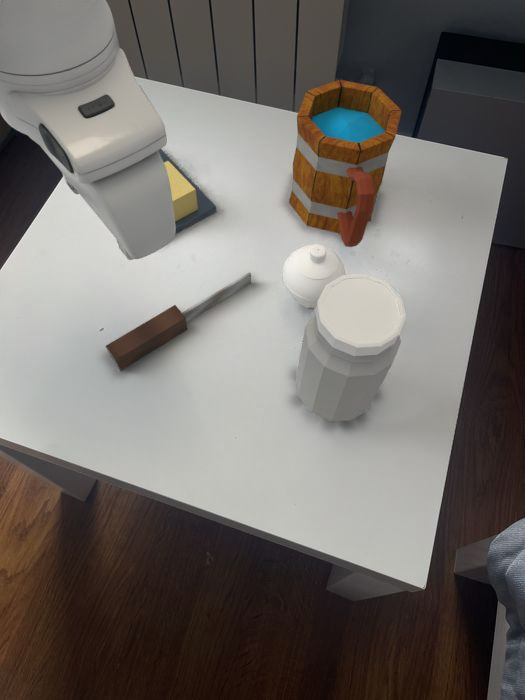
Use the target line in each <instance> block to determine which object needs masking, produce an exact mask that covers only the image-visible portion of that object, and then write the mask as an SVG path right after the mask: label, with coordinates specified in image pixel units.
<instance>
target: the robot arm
mask: <svg viewBox="0 0 525 700" xmlns="http://www.w3.org/2000/svg"><path fill="white" fill-rule="evenodd" d="M119 43H120V42H119V38H118V34H117V29H116V24H115V20H114V15H113V13H112V11H111V7H110V5H109V3H108V2H107V0H0V115H1V117H2V118H3V120H4V121H5V122H6V123H7V125H9V126H10V127H11V128H13V129H14V130H16V132H17V131H18V132H19V133H21V134H23V135H26V136H28V137H29V138H30V139H31V141H33V142H34V143H36V144H37V145H39V146H40V148H41V149H42V150H43V151H44V153H45V154H46V155H47V156H48V158H49V159H50V160H51V161H52V162H53V163H54V165H55V166H56V167H57V168H58V169H59V172H61V174H62V176H63V178H64V181H65V184H66V185H67V186H68V187H69V189H70V190H71V191H72V193H74V194H75V195H80V197H81V198H82V199H83V200H84V202H85V203H86V205H88V206H89V207H90V209H91V210H92V211H93V212H94V214H95V215H96V216H97V217H98V218H99V220H100V221H101V223H103V225H104V226H105V227H106V229H107V230H108V231H109V232H110V233H111V235H112V236H113V237H114V238H115V240H116V243H117V245H118V249H119V251H121V252H122V254H123V255H124V256H125V258H126V259H127V260H128V261H133V260H140V259H143V258H146V257H148V256H150V255H152V254H155V253H156V252H158V251H160V250H161V249H163V248H164V247H166V246H167V245H169V244H170V243H171V242H172V241H173V240H174V239H175V236H176V234H175V232H176V226H175V216H174V207H173V200H172V194H171V188H170V182H169V177H168V174H167V170H166V167H165V164H164V162H163V159H162V157H161V155H160V153H159V152H158V150H159V149H163V148H165V147H166V146H167V143H168V137H167V136H168V135H167V132H166V126H165V124H164V122H163V119H162V117H161V116H160V114H159V113H158V111H157V110H156V108H155V106H154V105H153V104H152V102H151V100H149V97H148V96H147V95H146V92H145V91H144V89H143V88H142V87H141V85H140V84H139V82H138V80H137V78H136V76H135V75H134V73H133V71H132V68H131V66H130V64H129V60H128V58H127V56H126V53H125V51H124V50H123V49H122V48H121V47H120V44H119Z"/></svg>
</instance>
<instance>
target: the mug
mask: <svg viewBox="0 0 525 700" xmlns="http://www.w3.org/2000/svg"><path fill="white" fill-rule="evenodd" d="M401 114H402V109H401V108H400V107H399V105H397V104H396V103H394V101H393V100H392V99H390V97H389V96H388V95H387V94H385V92H384V91H383V90H382V89H380V87H378V86H374V85H369V84H364V83H359V82H355V81H354V82H353V81H348V80H343V79H337V80H334V81H331V82H329V83H326V84H323V85H320V86H317V87H315V88H312V89H308V90H306V91H305V94H304V97H303V99H302V101H301V105H300V108H299V110H298V113H297V115H296V126H297V135H296V144H295V145H296V146H295V152H294V156H293V162H292V186H291V193H290V196H289V200H288V203H289V205H290V206H291V207H292V209H293V210H294V211H295V213H296V214H297V215H298V217H299V218H300V219H301V221H302V222H303V223H304V224H305V225H306V227H309V228H310V227H311V228H314V229H319V230H323V231H327V232H332V233H336V234H340V240H341V241H342V243H343V245H344V246H345V247H347V248H352V247H357V246H358V245H359V244H360V243H362V240H363V239H364V235H365V233H366V230H367V226H368V223H369V222H371V221H372V218H373V213H374V208H375V205H376V200H377V195H378V192H379V190H380V188H381V186H382V183H383V179H384V175H385V170H386V166H387V162H388V157H389V152H390V150H391V148H392V146H393V144H394V141H395V139H396V136H397V131H398V127H399V124H400V119H401Z"/></svg>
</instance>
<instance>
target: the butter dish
mask: <svg viewBox="0 0 525 700" xmlns="http://www.w3.org/2000/svg"><path fill="white" fill-rule="evenodd" d="M158 152H159V153H160V155H161V157H162V159H163V162H166V161H169V162H170V163H171V164H172V165H173V166H174V167H175V168H176V169H177V170H178V171H179V172H180V174H181V175H182V176H183V177H184V178H185V179H186V180H187V181H188V182H189V183H190V184H191V185H192V186H193V187H194V188H195V189H196V197H197V206H198V210H196V211H194V212H192V213H191V214H189V215H187V216H185V217H183V218H181V219H179V220H178V221H176V222H175V226H176V232H175V235H177V234H179V233H181V232H182V231H185V230H186V229H188V228H190V227H191V226H194V225H195V224H197V223H199V222H200V221H203V220H205V219H206V218H208V217H210V216H211V215H213V214H215V213H217V206H216V205H215V203H214V202H213V201H212V200H211V199H210V198H209V197H208V196H207V195H206V194H205V193H204V192H203V191H202V190H201V189H200V187H198V186H197V185H196V183H195V182H194V181H192V180H191V178H190V177H189V176H188V175H187V174H186V173H185V172H184V171H183V170H182V169H181V168H180V167H179V166H178V165H177V164H176V163H175V162H174V161H173V160H172V158H170V157H169V156H168V154H167V153H166V152H165V151H164V150H163V148H161V149H159V150H158Z"/></svg>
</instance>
